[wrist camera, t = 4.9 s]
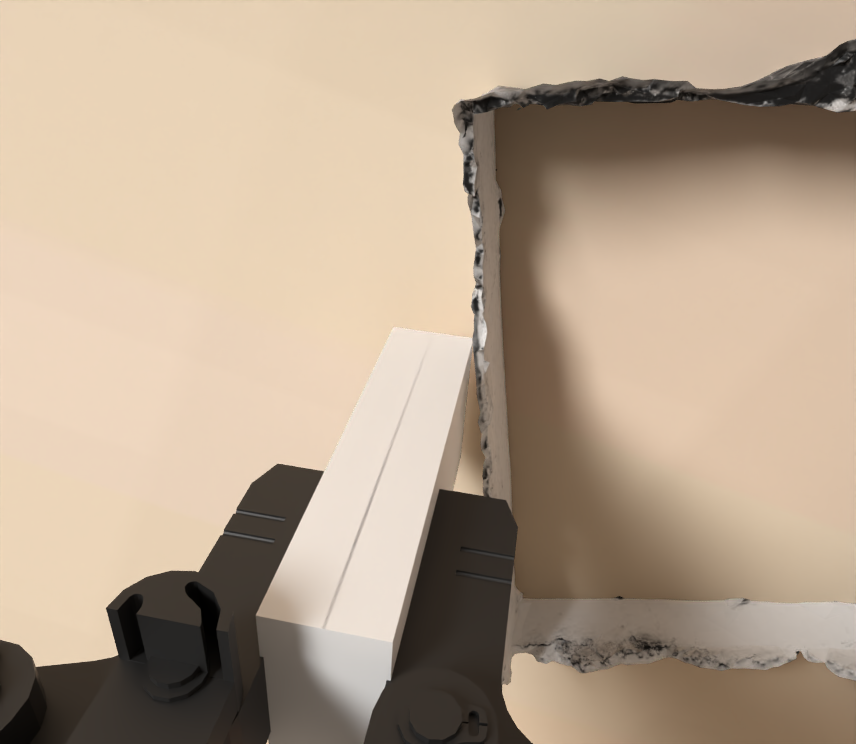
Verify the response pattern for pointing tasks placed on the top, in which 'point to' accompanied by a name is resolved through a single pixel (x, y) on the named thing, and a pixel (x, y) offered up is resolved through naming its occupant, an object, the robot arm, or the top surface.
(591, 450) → the top surface
